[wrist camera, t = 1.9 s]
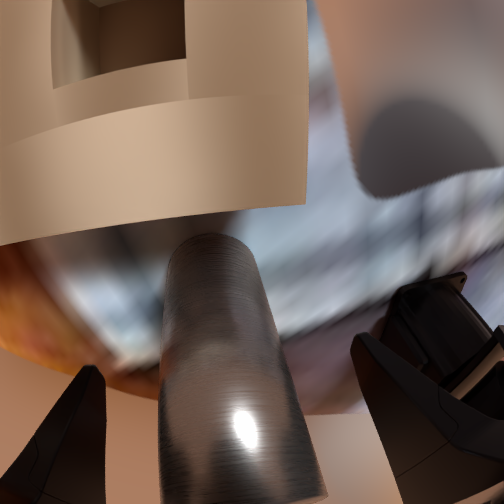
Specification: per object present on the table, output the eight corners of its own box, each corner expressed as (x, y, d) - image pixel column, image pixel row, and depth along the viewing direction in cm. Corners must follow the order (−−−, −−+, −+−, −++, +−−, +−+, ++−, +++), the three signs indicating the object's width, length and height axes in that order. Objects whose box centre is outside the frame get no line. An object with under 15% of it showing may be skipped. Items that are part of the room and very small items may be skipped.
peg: (255, 228, 12) (346, 483, 4) (257, 300, 14) (314, 505, 6) (160, 239, 12) (135, 508, 3) (177, 309, 14) (183, 522, 6)
